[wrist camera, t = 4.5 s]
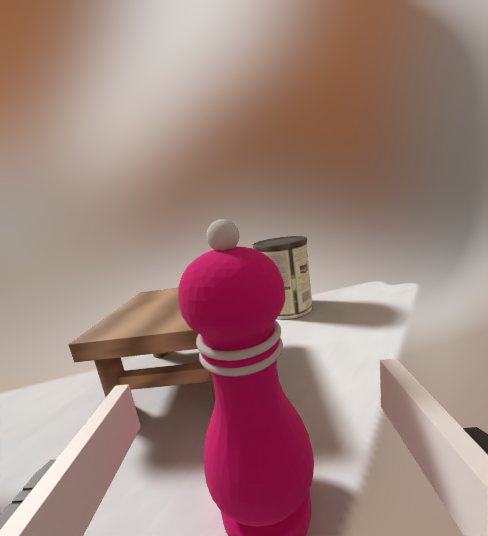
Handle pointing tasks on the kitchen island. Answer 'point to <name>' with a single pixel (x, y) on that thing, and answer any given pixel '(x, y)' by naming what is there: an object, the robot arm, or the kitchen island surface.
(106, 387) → the stool
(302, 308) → the coffee can
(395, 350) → the kitchen island surface
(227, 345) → the pepper mill
